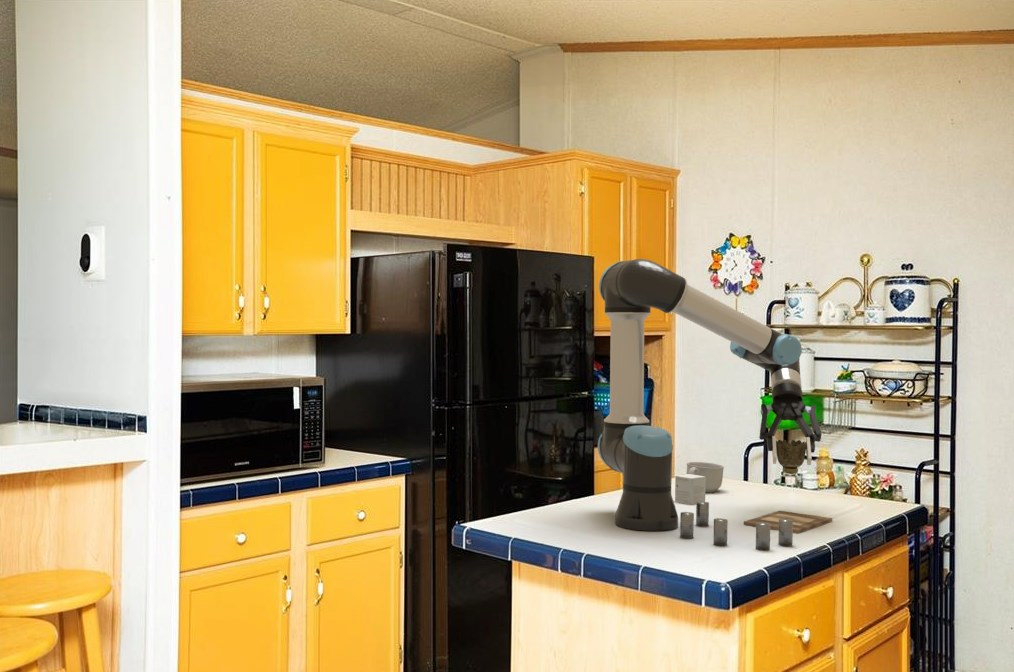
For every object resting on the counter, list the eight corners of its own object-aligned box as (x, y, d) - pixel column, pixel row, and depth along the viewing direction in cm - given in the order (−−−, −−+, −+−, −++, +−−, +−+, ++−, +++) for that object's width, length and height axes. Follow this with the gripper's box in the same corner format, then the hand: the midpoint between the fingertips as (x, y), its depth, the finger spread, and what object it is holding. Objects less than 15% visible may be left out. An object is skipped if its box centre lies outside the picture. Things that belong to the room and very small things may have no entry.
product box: (674, 501, 267) (674, 475, 267) (688, 499, 271) (688, 473, 271) (691, 505, 263) (692, 478, 262) (706, 502, 266) (706, 476, 266)
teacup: (701, 486, 294) (702, 460, 294) (731, 491, 285) (731, 464, 285) (671, 491, 285) (671, 463, 285) (700, 496, 276) (701, 468, 276)
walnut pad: (798, 533, 228) (798, 529, 228) (743, 524, 237) (743, 521, 237) (832, 521, 243) (832, 517, 243) (779, 513, 252) (779, 510, 252)
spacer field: (710, 552, 206) (711, 527, 206) (657, 525, 234) (657, 502, 234) (801, 548, 212) (801, 523, 212) (738, 522, 239) (739, 500, 239)
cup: (776, 475, 237) (777, 442, 237) (773, 470, 244) (773, 438, 244) (808, 476, 235) (808, 443, 235) (803, 471, 243) (804, 439, 243)
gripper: (826, 400, 253) (834, 471, 237) (745, 398, 257) (748, 468, 241) (829, 381, 247) (837, 453, 232) (747, 379, 251) (750, 450, 236)
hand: (792, 460), depth 236 cm, fingers closed on cup, 7 cm apart
